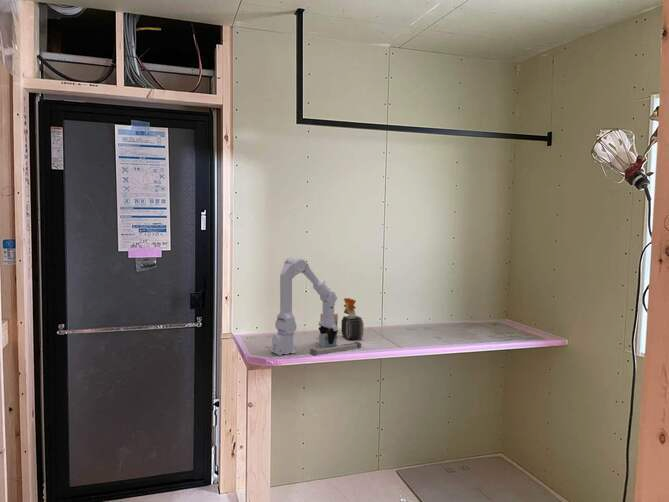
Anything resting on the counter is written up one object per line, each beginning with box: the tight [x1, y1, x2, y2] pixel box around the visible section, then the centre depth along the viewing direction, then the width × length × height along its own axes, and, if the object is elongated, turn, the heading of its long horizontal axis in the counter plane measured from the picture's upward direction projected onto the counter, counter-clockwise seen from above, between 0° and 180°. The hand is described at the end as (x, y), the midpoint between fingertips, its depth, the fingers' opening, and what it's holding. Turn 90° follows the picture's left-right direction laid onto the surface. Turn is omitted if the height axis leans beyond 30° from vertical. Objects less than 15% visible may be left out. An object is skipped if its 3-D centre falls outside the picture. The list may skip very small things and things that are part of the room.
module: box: [318, 333, 338, 348], centre depth 234 cm, size 7×5×6 cm
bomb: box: [340, 297, 365, 341], centre depth 251 cm, size 8×13×20 cm, turn 22°
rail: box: [309, 341, 362, 356], centre depth 224 cm, size 26×4×2 cm, turn 124°
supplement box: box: [319, 312, 339, 336], centre depth 250 cm, size 8×5×13 cm, turn 126°
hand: (327, 342), depth 234 cm, fingers closed on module, 5 cm apart
